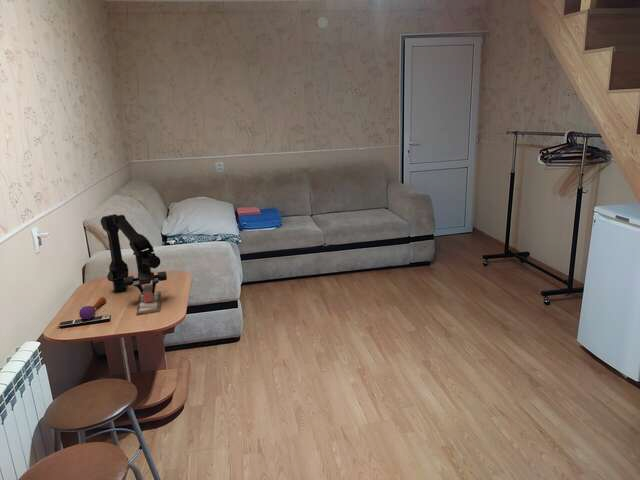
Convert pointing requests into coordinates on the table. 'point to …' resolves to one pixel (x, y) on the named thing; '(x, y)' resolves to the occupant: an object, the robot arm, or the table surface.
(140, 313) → the board
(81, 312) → the purple maraca
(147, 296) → the red and gray block
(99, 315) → the table surface
